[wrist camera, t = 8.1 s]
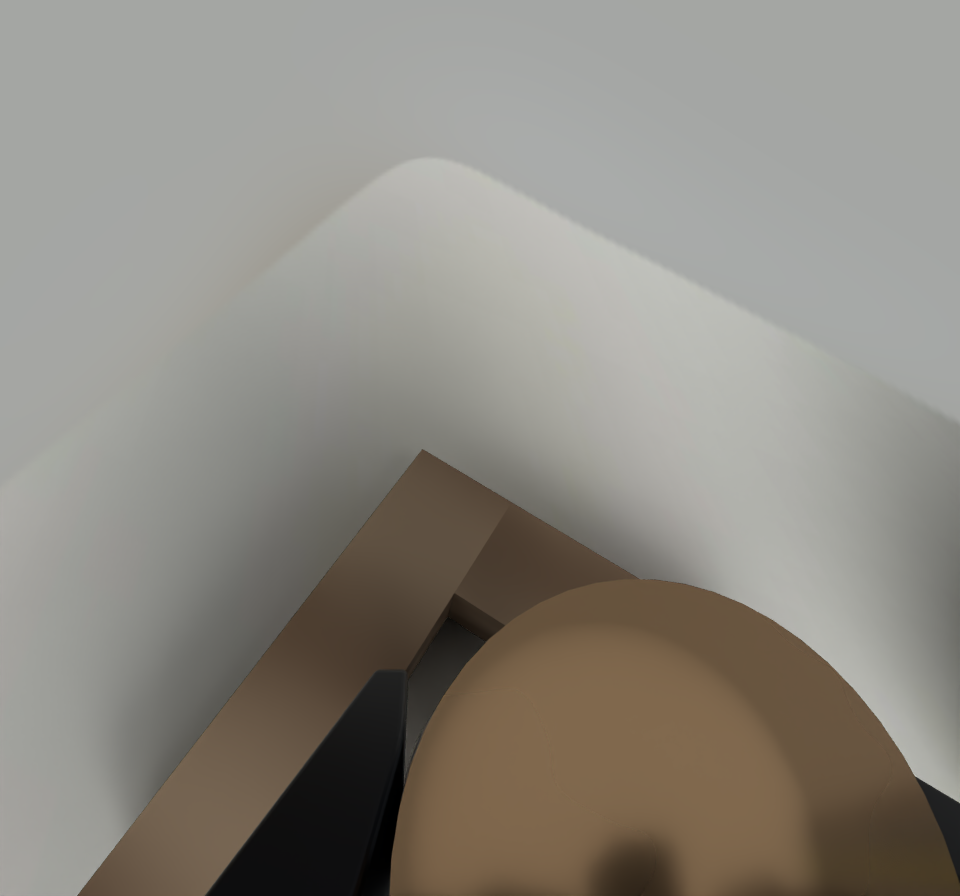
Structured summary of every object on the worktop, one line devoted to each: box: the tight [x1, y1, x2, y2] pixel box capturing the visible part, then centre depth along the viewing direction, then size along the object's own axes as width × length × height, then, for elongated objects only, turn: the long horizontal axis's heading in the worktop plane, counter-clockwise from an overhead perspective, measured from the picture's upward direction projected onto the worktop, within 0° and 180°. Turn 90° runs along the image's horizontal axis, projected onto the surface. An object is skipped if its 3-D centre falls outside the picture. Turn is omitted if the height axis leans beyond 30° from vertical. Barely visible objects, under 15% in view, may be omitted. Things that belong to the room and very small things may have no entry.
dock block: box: [77, 449, 639, 896], centre depth 13 cm, size 12×12×3 cm
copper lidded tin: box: [390, 579, 960, 896], centre depth 8 cm, size 4×4×10 cm
